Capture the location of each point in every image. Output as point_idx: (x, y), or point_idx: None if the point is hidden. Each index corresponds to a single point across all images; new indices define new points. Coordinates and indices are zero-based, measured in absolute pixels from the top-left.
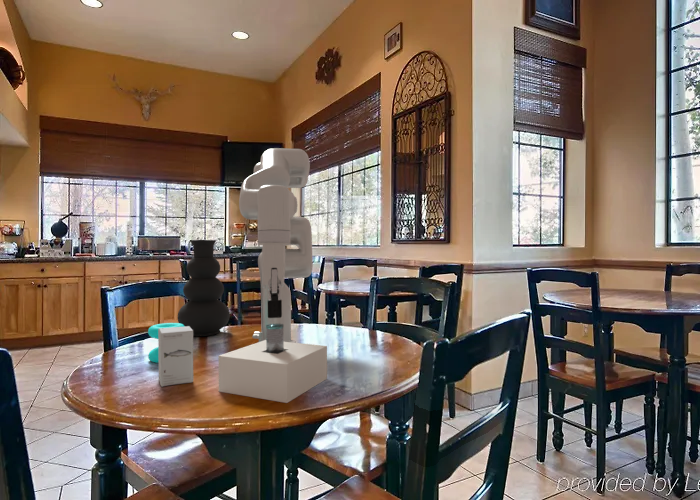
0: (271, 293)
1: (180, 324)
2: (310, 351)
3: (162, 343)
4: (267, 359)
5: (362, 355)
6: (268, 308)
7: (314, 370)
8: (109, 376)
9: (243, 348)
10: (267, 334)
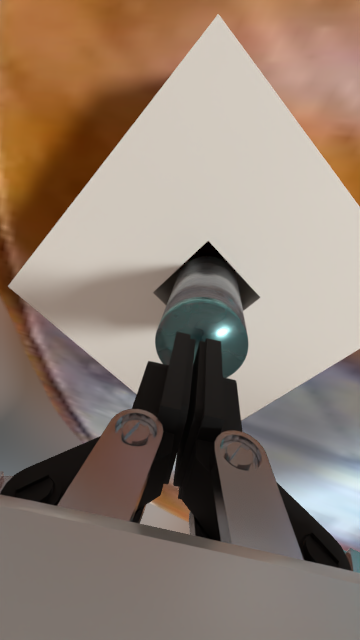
0: (12, 481)
1: None
2: None
3: None
4: (82, 241)
5: (345, 505)
6: (168, 368)
7: None
8: None
9: (314, 174)
10: (188, 288)
